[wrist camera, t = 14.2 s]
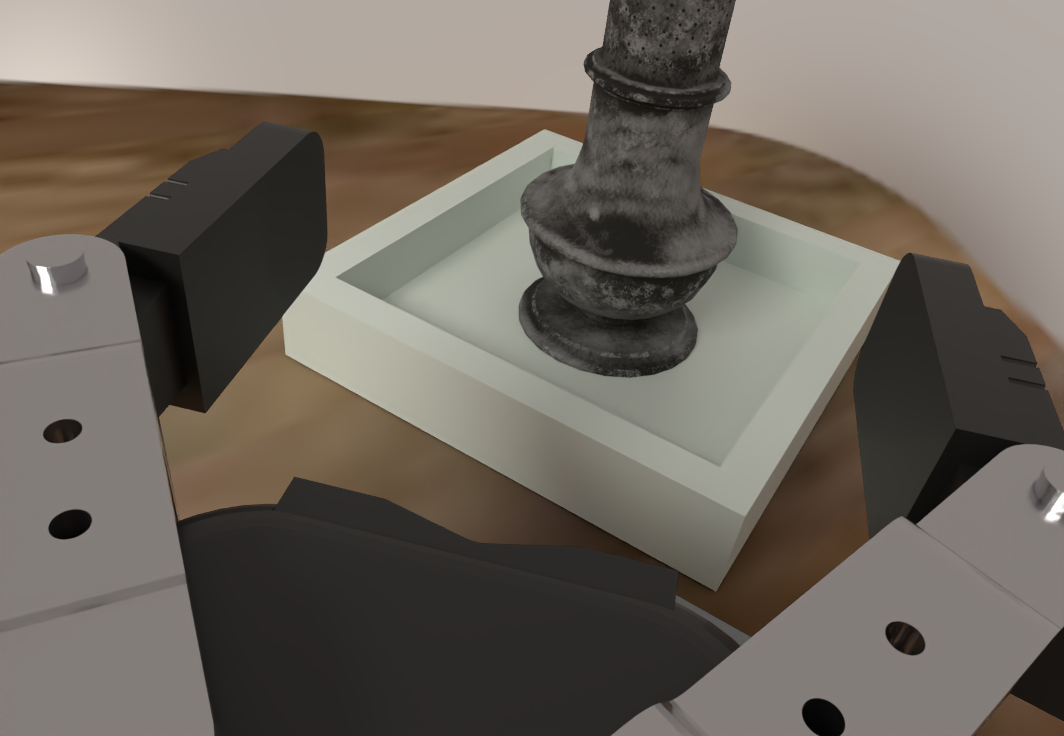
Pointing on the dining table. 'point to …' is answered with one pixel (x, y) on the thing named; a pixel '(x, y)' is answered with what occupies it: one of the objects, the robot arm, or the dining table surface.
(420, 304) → the tray
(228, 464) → the dining table surface
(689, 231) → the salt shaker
